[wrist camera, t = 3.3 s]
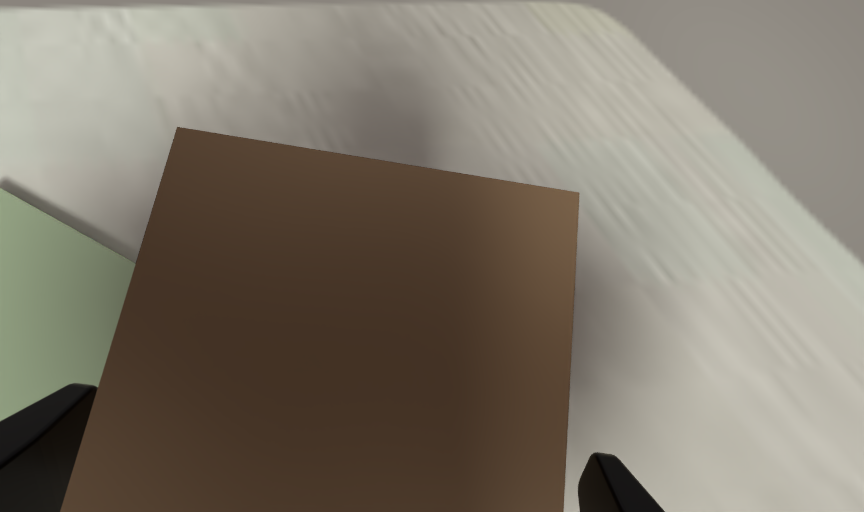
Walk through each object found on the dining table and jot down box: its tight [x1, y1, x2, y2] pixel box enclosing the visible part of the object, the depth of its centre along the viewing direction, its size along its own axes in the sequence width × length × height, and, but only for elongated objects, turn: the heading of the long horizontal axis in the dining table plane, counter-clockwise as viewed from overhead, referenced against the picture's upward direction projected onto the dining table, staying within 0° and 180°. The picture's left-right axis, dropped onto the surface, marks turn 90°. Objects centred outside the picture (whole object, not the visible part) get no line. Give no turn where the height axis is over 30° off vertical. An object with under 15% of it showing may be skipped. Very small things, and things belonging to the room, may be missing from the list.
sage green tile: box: [0, 188, 135, 421], centre depth 17 cm, size 10×10×1 cm
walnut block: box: [60, 127, 579, 512], centre depth 12 cm, size 5×5×13 cm
